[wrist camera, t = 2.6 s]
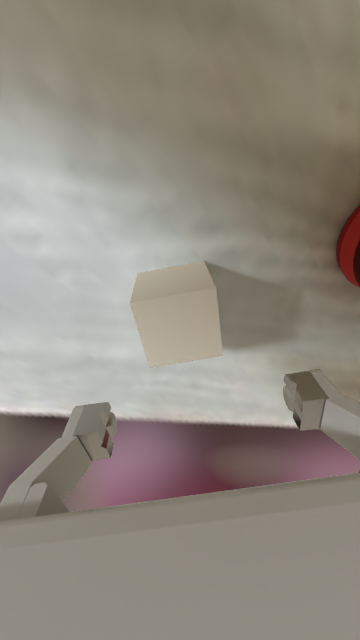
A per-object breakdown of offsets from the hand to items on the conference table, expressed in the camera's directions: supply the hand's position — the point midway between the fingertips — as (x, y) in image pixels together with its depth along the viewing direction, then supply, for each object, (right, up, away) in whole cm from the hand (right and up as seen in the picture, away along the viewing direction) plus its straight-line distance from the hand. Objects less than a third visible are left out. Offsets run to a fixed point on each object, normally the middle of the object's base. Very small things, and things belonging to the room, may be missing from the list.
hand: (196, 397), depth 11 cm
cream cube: (-1, +5, +8) cm, 10 cm away
